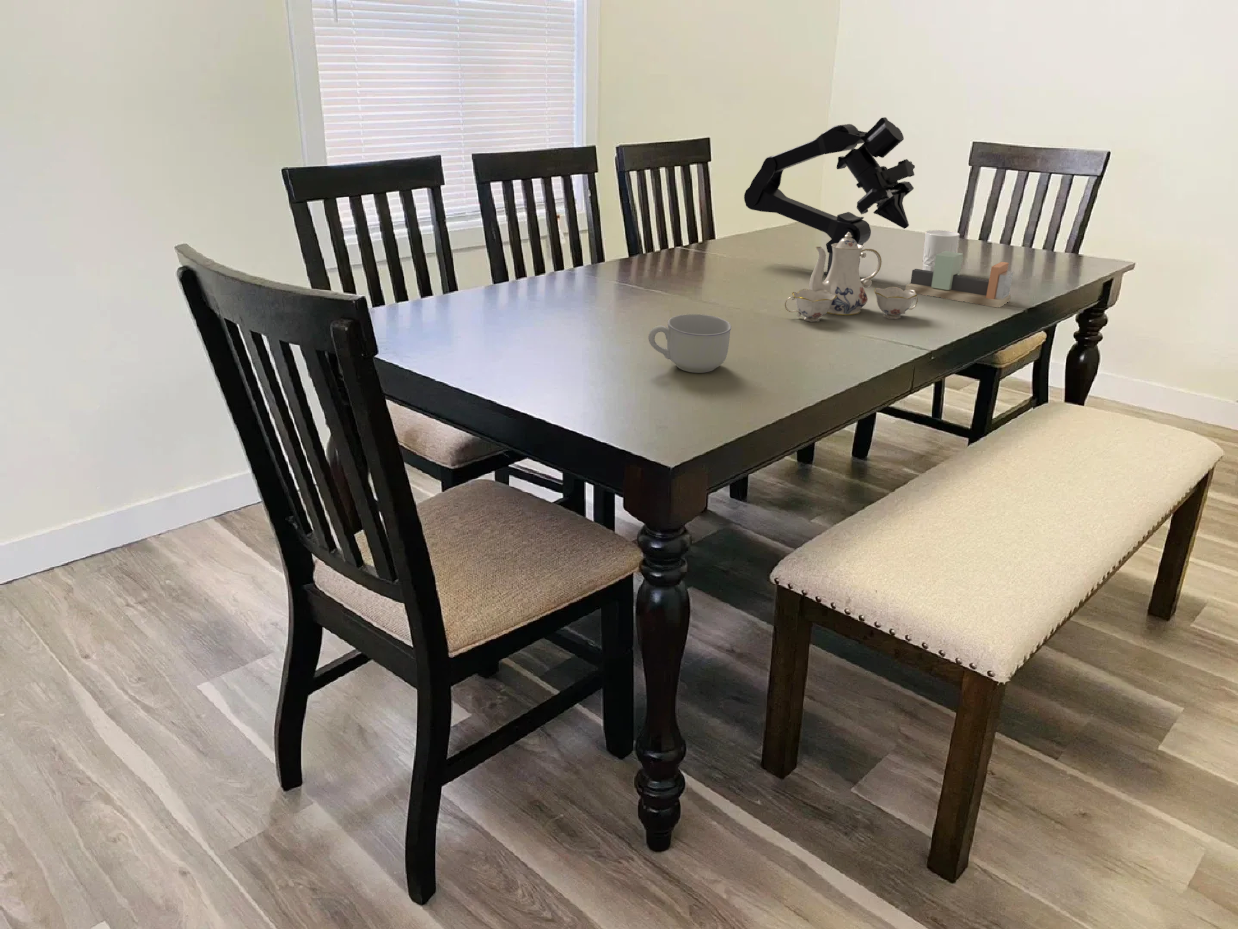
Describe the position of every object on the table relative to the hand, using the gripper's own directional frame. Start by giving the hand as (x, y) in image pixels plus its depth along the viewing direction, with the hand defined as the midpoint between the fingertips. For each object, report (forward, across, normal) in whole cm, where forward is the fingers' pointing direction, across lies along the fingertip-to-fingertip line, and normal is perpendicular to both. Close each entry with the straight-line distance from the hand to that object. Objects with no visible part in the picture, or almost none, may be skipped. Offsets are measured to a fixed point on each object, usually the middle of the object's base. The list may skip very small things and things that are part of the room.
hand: (906, 227), depth 207 cm
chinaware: (+11, -30, +9) cm, 33 cm away
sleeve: (+16, 0, +1) cm, 16 cm away
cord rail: (+18, 0, -1) cm, 18 cm away
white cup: (+11, +19, +9) cm, 24 cm away
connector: (+25, 0, -8) cm, 26 cm away
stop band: (+24, 0, -7) cm, 25 cm away
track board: (+19, 0, 0) cm, 19 cm away
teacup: (+7, -81, +12) cm, 82 cm away
